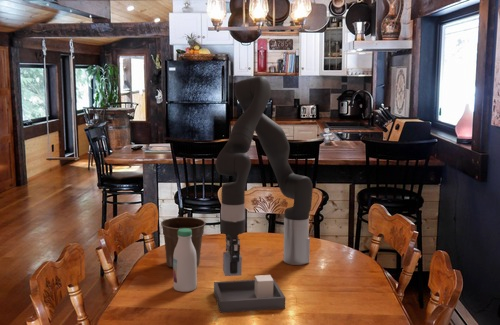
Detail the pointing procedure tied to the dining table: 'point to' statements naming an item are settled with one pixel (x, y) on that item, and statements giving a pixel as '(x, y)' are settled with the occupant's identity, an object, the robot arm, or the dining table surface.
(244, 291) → the dark grey tray
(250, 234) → the dining table surface
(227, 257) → the slate blue block
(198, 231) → the plant pot
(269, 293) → the cream block
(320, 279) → the dining table surface
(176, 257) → the milk bottle
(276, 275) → the dining table surface
